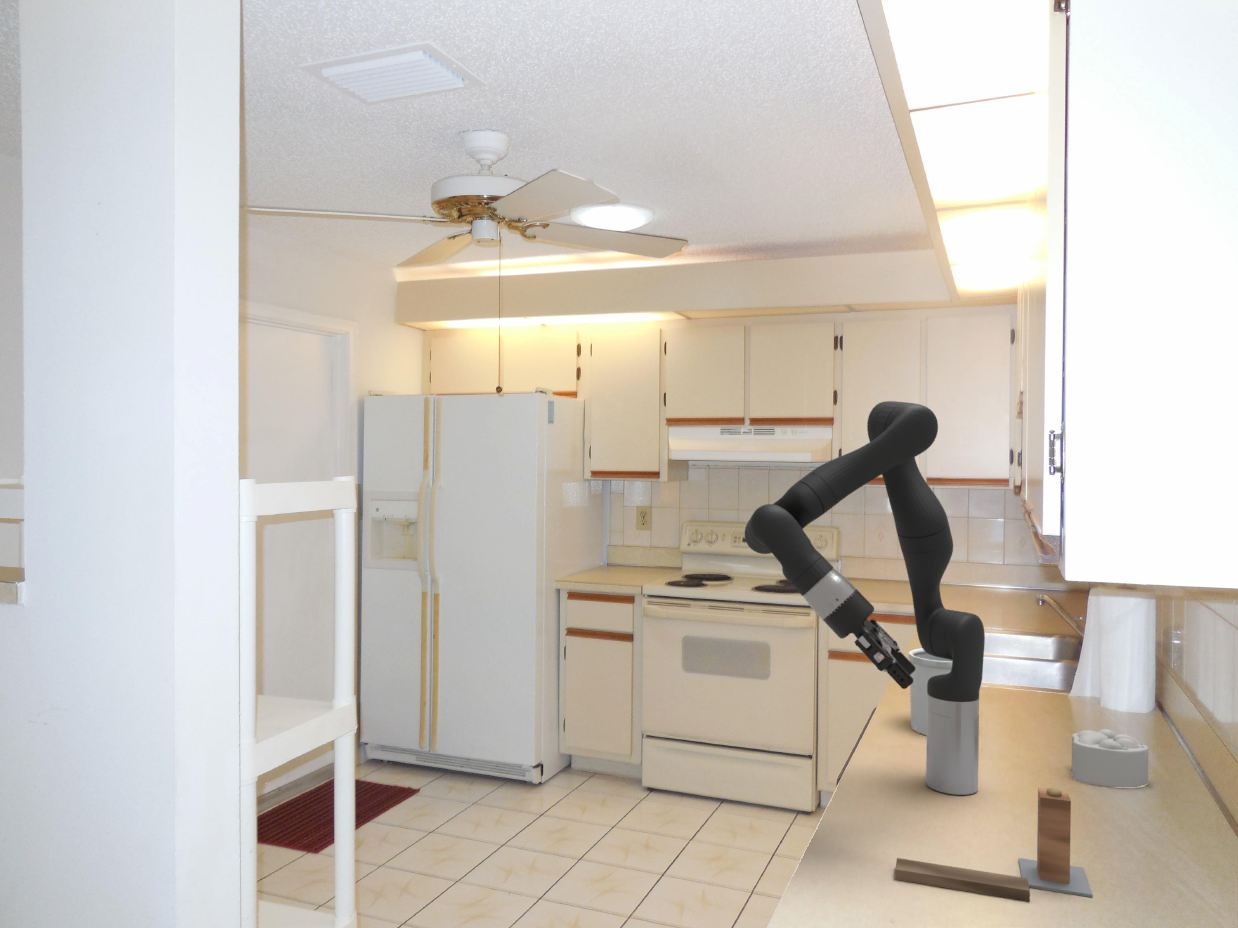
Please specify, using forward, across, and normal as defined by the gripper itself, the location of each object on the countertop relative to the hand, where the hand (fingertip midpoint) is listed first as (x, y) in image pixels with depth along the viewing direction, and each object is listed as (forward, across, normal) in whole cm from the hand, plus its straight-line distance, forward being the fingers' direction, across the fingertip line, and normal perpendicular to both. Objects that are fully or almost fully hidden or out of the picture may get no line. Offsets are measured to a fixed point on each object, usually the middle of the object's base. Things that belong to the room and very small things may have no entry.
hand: (910, 678), depth 143 cm
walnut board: (+24, -11, +13) cm, 30 cm away
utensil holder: (+22, +67, +16) cm, 72 cm away
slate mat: (+33, -4, +4) cm, 34 cm away
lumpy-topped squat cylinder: (+44, +46, -6) cm, 64 cm away
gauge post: (+33, -4, +4) cm, 34 cm away
